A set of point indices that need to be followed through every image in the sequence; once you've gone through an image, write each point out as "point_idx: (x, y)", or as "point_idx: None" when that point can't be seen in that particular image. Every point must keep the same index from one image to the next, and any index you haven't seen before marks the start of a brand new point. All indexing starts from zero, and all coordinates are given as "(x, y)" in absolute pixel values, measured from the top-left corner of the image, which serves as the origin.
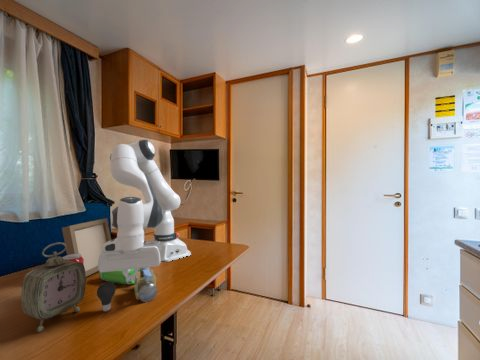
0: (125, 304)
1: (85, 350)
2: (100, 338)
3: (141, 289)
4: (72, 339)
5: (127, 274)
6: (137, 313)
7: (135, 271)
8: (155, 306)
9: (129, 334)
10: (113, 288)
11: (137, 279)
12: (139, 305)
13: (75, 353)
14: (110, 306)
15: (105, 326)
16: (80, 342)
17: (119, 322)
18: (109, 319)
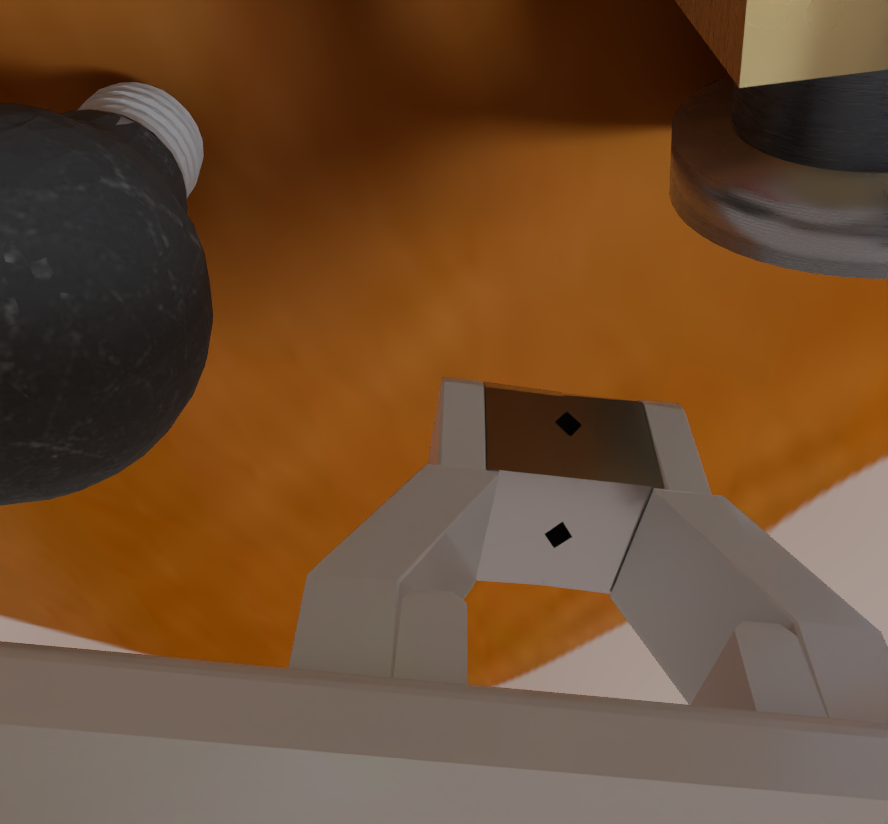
0: (428, 33)
1: (198, 641)
2: (266, 577)
3: (749, 249)
4: (18, 512)
5: (457, 569)
6: (590, 364)
7: (725, 612)
8: (844, 302)
9: (494, 613)
10: (171, 425)
11: (759, 69)
12: (645, 176)
13: (139, 642)
14: (198, 160)
15: (259, 453)
16: (115, 564)
17: (392, 445)
18: (266, 352)
